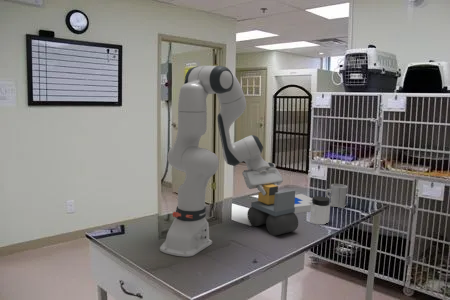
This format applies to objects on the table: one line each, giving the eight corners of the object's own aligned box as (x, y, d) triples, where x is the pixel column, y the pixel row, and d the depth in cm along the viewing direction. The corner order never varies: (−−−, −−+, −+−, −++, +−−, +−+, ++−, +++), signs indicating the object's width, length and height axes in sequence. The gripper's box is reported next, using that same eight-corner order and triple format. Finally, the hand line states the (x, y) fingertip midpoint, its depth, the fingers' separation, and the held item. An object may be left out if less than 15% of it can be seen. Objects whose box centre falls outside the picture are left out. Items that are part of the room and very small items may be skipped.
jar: (307, 219, 177) (308, 196, 175) (321, 218, 179) (323, 195, 177) (316, 226, 168) (318, 201, 166) (331, 224, 171) (333, 200, 169)
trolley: (298, 233, 158) (301, 191, 155) (279, 238, 151) (281, 195, 148) (265, 218, 175) (267, 181, 173) (246, 223, 168) (248, 184, 166)
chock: (257, 200, 165) (258, 184, 164) (266, 199, 169) (267, 182, 167) (268, 204, 160) (269, 187, 159) (277, 203, 163) (278, 186, 162)
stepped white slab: (324, 203, 193) (281, 208, 181) (323, 210, 194) (280, 216, 182) (293, 190, 218) (254, 194, 206) (293, 196, 219) (253, 200, 207)
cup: (334, 209, 195) (336, 188, 193) (323, 204, 203) (325, 184, 202) (349, 207, 199) (351, 186, 198) (338, 203, 208) (339, 183, 206)
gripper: (244, 166, 160) (257, 192, 154) (277, 163, 172) (290, 187, 166) (237, 174, 164) (250, 200, 158) (270, 170, 176) (283, 194, 170)
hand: (271, 193), depth 162 cm, fingers closed on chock, 5 cm apart
